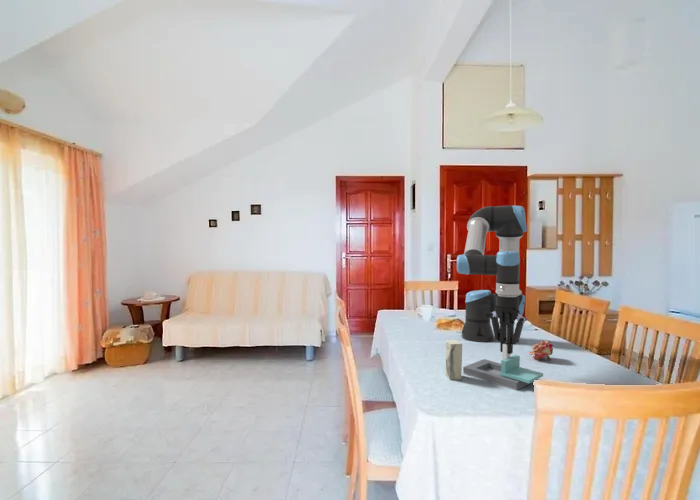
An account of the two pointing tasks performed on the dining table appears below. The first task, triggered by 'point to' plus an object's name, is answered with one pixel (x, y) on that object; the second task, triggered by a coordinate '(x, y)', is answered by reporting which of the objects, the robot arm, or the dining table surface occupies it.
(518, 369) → the teal angle bracket
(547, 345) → the flower
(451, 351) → the box
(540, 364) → the dining table surface
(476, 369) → the socket block
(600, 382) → the dining table surface
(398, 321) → the dining table surface
